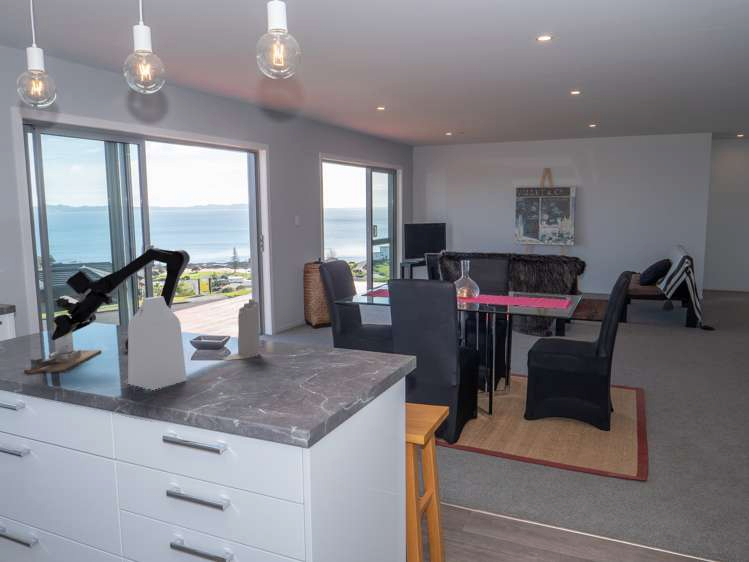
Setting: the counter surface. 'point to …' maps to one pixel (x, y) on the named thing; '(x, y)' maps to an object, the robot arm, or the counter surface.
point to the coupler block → (64, 343)
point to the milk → (155, 346)
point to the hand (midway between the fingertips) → (59, 336)
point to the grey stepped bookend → (247, 332)
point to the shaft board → (60, 361)
